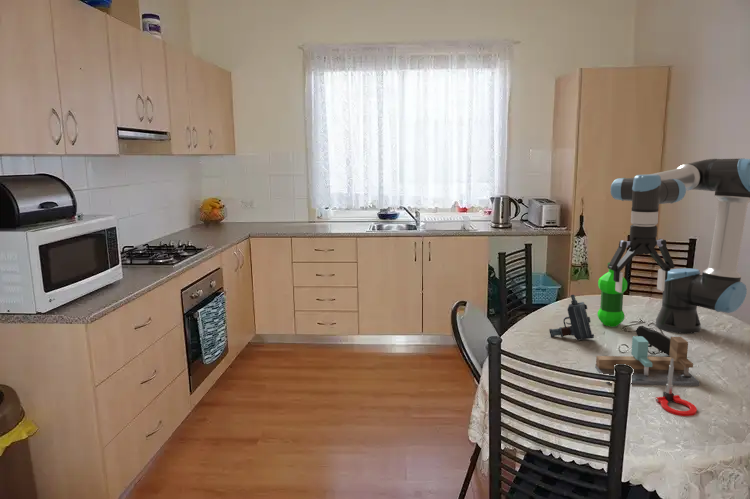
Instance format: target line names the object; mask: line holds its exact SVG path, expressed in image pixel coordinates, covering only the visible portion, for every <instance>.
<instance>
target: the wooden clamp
mask: <svg viewBox="0 0 750 499" xmlns="http://www.w3.org/2000/svg"><path fill="white" fill-rule="evenodd" d="M670 339H671V340H670V353H669V356H648V359H649V360H650V361H651V362H652V363H653V364H652V367H649V369H655V370H669V365H670V361H671V358H673V359H674V363H673V366H674V370H684V376H688V374H689V373H690V368H694V363H693V362H692V361H691V360H689V359H688V350H689V349H688V348H689V341H687V340H686V339H685V338H683V337H682V336H670ZM595 357H596V358H595V365H597V367H598V368H599V369H614V365H616V364H626V365H629V366H631V367H632V368H633V369H644V365H643V364H642V363H641V362H640V361H639V360H637V359H636V358H635V357H634V356H633V355H630V356H627V355H626V356H625V355H624V356H622V355H620V356H619V355H618V356H617V355H596V356H595Z"/></svg>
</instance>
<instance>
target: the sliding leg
mask: <svg viewBox="0 0 750 499" xmlns="http://www.w3.org/2000/svg"><path fill="white" fill-rule="evenodd" d="M649 345H650V344H649V342H648V341H647V340H646V339H645V338H644V337H643V336H637V335H636V336H635V335H634V336H632V338H631V356H634V357H635V358H636V359H637V360H639V361H640V362H641V363H642V364H643V365H644V375H646V376H647V375H648V371H649V367H652V364H653V363H652V362H651V361H650V360H649V359H648V357H649V347H648V346H649Z"/></svg>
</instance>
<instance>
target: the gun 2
mask: <svg viewBox="0 0 750 499" xmlns="http://www.w3.org/2000/svg"><path fill="white" fill-rule="evenodd" d="M635 333H636V336H643V337H644V338H645V339H646V340H647V341H648V342H649V344H648V348H651V347H654V348H655V349H657V350H659V351H660V352H662V353H664V354H665V355H666V356H667V357H670V356H669V353H670V340H671V337H668V336H667V335H665V334H663V333H662V332H659V331H657V330H655V329H650V328H648V327H646V326H644V325H639V326H637V328H636V329H635Z"/></svg>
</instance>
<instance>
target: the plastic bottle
mask: <svg viewBox="0 0 750 499" xmlns="http://www.w3.org/2000/svg"><path fill="white" fill-rule="evenodd" d="M610 262H611V261H609V262H607V266H606V267H607V269H608V265H609V263H610ZM613 276H614V271H613V270H610V269H608V272H606V273H604V274H603V275H602V276H601V277H599V279H598V280H597V286H598V289H599V290H600V308H599V309H598V311H597V315H596V316H597V319H599V321H600V322H601V323H602V324H603V326H606V327H610V328H613V327H618V325H620V324H622V323H623V321H624V320H625V317H626V316H625V312H624V310H623V302H624V293H625V292H626V291H627V289H628V281H627V279H626V278H625V277H624V276H623V280H622V293H619V292H617V291H615V285H616V282H615V281H614V280H613Z"/></svg>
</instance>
